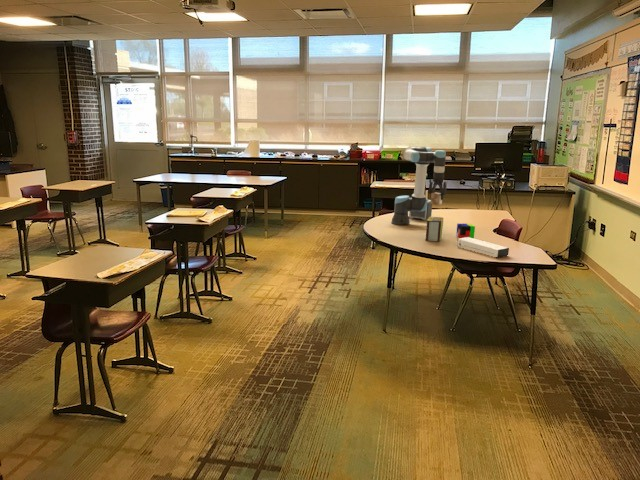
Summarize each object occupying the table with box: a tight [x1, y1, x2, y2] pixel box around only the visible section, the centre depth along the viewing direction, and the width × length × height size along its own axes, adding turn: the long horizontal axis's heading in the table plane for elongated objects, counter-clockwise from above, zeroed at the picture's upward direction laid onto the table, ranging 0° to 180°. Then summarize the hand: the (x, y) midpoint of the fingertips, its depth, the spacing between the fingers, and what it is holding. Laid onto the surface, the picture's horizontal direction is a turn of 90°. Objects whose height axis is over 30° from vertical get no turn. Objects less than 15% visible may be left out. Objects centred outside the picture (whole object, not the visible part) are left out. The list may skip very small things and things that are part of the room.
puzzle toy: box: [455, 223, 476, 239], centre depth 378 cm, size 10×10×10 cm
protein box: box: [425, 216, 444, 243], centre depth 371 cm, size 10×15×16 cm
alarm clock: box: [408, 198, 433, 222], centre depth 443 cm, size 18×13×18 cm
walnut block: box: [430, 191, 441, 206], centre depth 365 cm, size 6×6×8 cm
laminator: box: [456, 237, 510, 259], centre depth 341 cm, size 34×12×6 cm, turn 34°
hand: (436, 203), depth 366 cm, fingers closed on walnut block, 6 cm apart
